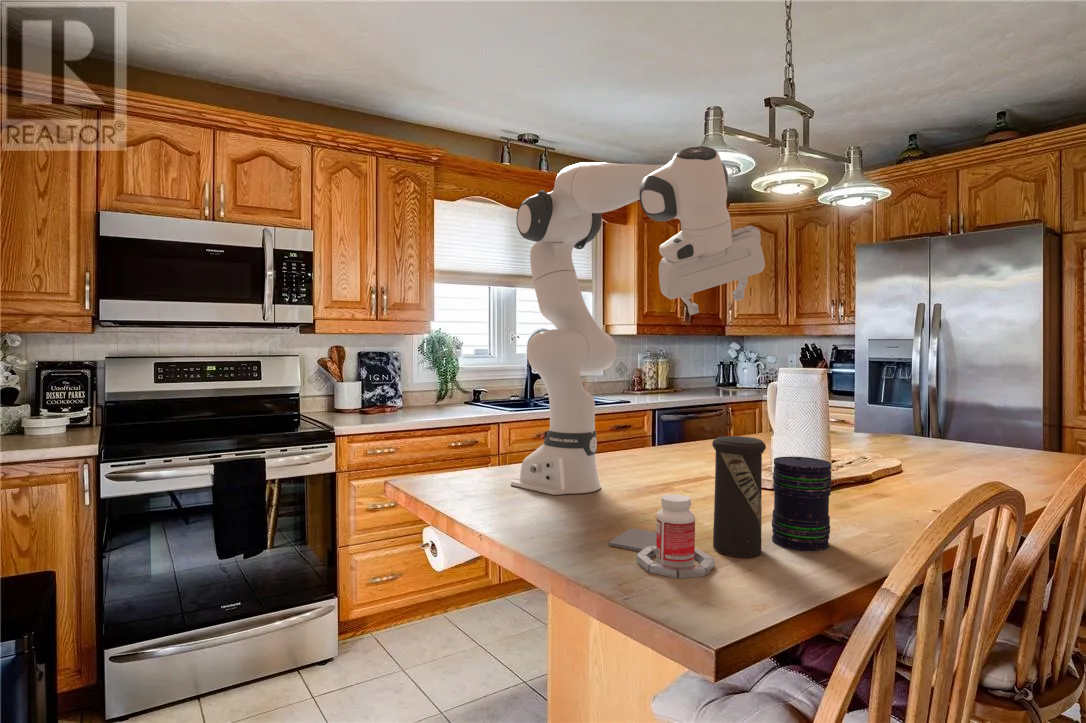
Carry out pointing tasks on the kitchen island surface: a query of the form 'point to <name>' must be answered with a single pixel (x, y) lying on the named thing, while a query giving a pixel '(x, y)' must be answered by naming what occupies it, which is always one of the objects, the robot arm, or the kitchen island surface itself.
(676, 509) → the pill bottle
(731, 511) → the container
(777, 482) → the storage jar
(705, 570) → the collar
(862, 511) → the kitchen island surface
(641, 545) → the coaster
